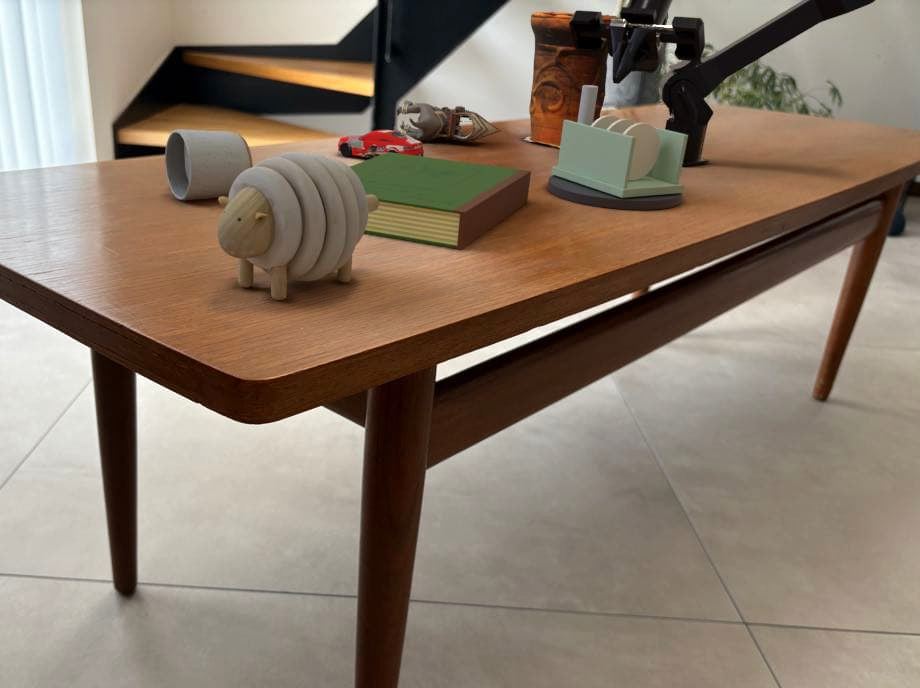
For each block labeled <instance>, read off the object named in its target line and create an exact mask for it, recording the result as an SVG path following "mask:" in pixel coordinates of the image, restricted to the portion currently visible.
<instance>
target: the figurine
mask: <svg viewBox="0 0 920 688" xmlns="http://www.w3.org/2000/svg"><path fill="white" fill-rule="evenodd" d="M395 110H396V115H397V116H400V115H401V114H402V115H404V116H405V115H408V114H409V115H410V114H416V115H417V114H419V116H418V118H417V121H414V120H413V118H411V117H409V122H410V124H411V125H410V124H408V123H406V124H405V121H404V120H402V121H401V124H400V125H399V128H401V129H400V130H399V129H398V128H397V127H396V126H394V127H393V131H397V132H401V133H403V134H406V135H409V136H410V137H412V138H413V139H415V140H418V141H420V142H422V143H424V142H427V141H428V140H435V139H438V138H446V139H450V140H452V139H453V140H457V141H460V142H464V143H467V142H468V143H469V142H474V141H477V140H480V139H483V138H486V137H488V136H491V135H494V134H498V133H501V132H502V129H500V128H498V127H496V126H495V125H493V124H492V123H490V122H489V121H488V120H487V119H485V118H484V117H482V115H480V114H479V113H477V112H474V111H472V110H471V111H470V110H469V109H468V110H467V109H466V107H465V106H462V105H456V106H455V107H454V108H451V107H450V108H449V107H448V106H443V107H441V108H440V107H438V106H433V105H431V104H429V103H425V102H418V101H416V100H413V101H410V100H407V99H404V102H402V106H400V105H398V106H397V108H396V109H395ZM461 118H463V119H464V118H465V119H468V120H464V121H462V120H461ZM464 122H465V123H472V126H471V132H469V134H467V132H463V133H462V128H463V126H462V125H460V123H464ZM411 126H413V127H411Z"/></svg>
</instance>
